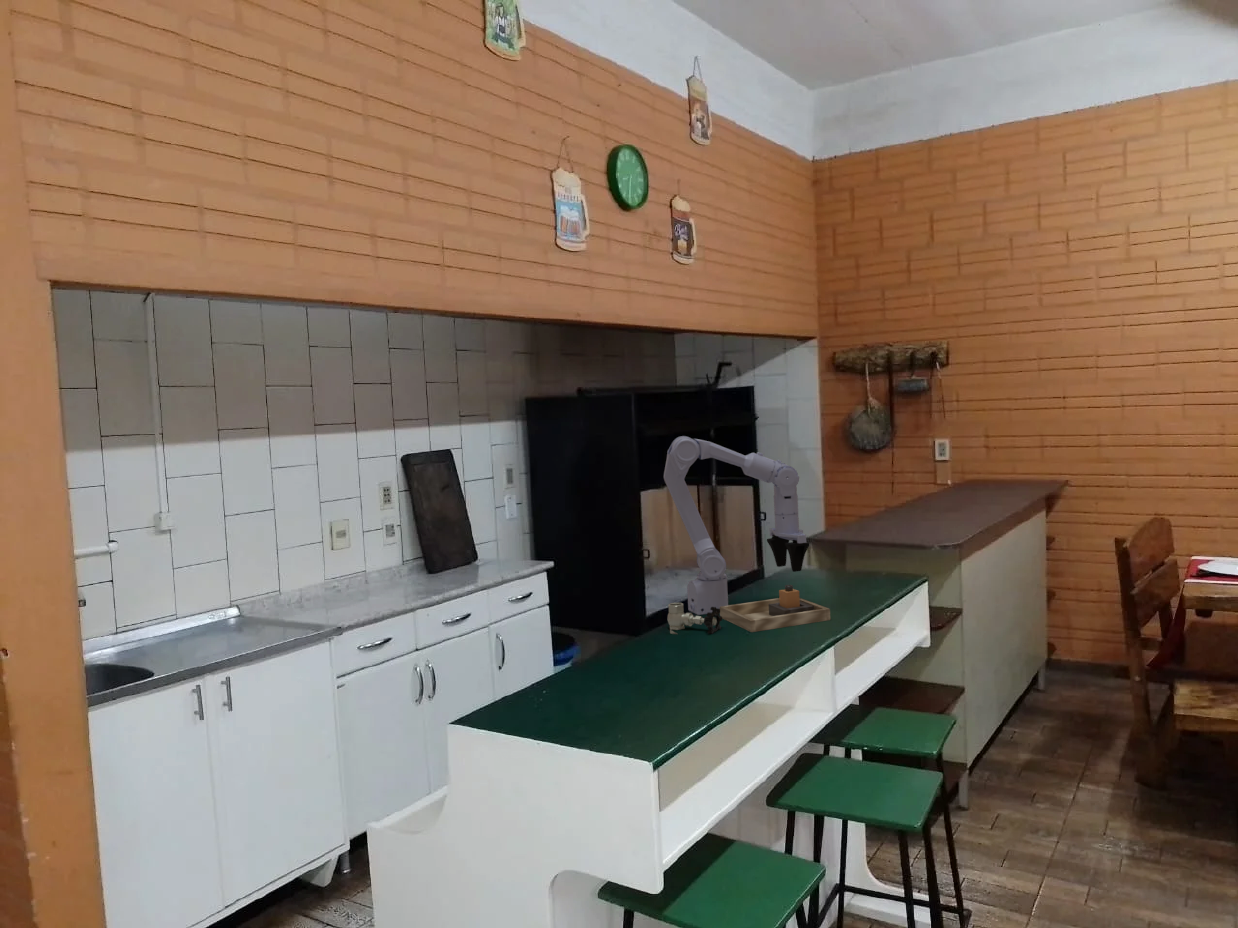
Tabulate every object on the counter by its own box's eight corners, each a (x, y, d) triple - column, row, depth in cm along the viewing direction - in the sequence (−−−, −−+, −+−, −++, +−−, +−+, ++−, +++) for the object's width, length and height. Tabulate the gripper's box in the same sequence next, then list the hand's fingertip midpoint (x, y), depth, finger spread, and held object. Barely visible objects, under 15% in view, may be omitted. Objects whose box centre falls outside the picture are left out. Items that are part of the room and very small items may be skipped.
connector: (787, 618, 214) (785, 587, 214) (780, 615, 218) (778, 585, 217) (800, 616, 216) (798, 585, 215) (792, 613, 219) (791, 583, 218)
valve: (662, 635, 210) (710, 639, 204) (660, 606, 210) (708, 610, 204) (675, 628, 216) (723, 632, 210) (674, 600, 216) (721, 603, 209)
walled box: (751, 636, 205) (750, 620, 204) (720, 621, 220) (719, 606, 219) (830, 623, 211) (829, 608, 211) (795, 609, 226) (794, 595, 226)
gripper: (816, 514, 221) (818, 571, 222) (786, 509, 234) (788, 562, 235) (790, 517, 218) (792, 574, 219) (761, 511, 232) (763, 565, 233)
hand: (789, 568), depth 227 cm, fingers open, 7 cm apart
